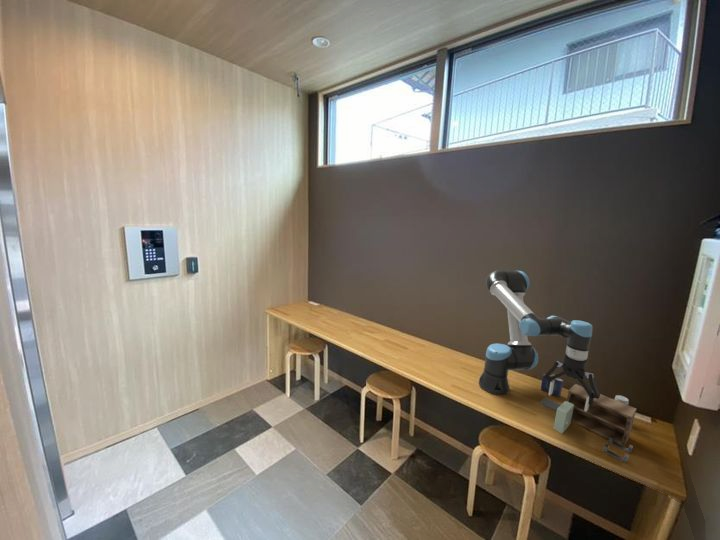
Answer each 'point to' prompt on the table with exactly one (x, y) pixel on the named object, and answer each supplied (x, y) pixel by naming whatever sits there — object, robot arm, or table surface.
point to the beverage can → (621, 399)
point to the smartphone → (550, 404)
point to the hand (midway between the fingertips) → (567, 401)
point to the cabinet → (602, 415)
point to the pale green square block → (563, 416)
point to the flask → (556, 388)
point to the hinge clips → (618, 447)
